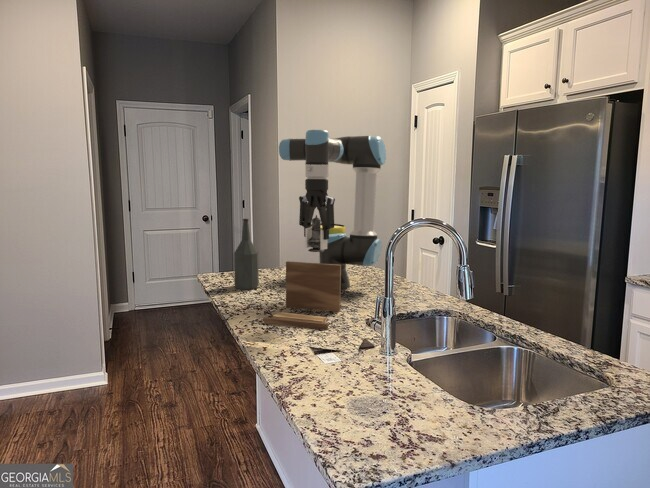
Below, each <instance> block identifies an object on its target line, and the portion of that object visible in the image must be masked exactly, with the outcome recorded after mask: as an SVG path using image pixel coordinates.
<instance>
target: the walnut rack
mask: <svg viewBox="0 0 650 488" xmlns="http://www.w3.org/2000/svg"><path fill="white" fill-rule="evenodd" d="M341 294H342V293H341V265H337V264H321V263H320V262H305V261H304V262H303V261H289V260H287V261H286V262H285V308H292V309H303V310H312V311H313V310H315V311H317V310H318V311H327V312H335V313H336V312H337V313H340V312H341V307H342V306H341V303H342V301H341V300H342V299H341V297H342V296H341ZM263 324H268V325H278V326H285V327H286V326H288V327H299V328H307V329H308V328H309V329H319V330H327V331H328V329H329V322H326V323H323V322H313V321H303V320H292V319H282V318H273V317H269V316H265V317H263Z"/></svg>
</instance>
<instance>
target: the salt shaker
mask: <svg viewBox="0 0 650 488" xmlns="http://www.w3.org/2000/svg"><path fill="white" fill-rule="evenodd" d="M311 224H312V228H311V230H312V236H311V238H310V239H308V240H307V241H308V243H309V246H310V247H309V249H308V252H311V253H319V252H323V251H324V250H320V238H321V219H320V217H318V215H317V214H315V216H314V218H312V222H311Z"/></svg>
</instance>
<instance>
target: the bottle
mask: <svg viewBox="0 0 650 488" xmlns="http://www.w3.org/2000/svg"><path fill="white" fill-rule="evenodd" d="M249 221H250V220H249V218H243V219H242V230H241V231H242V233H241V240H240V242H239V244H238V246H237V247H236V249H235V251H234V253H233V258H234V260H233V263H234V265H233V266H234V270H233V271H234V287H235V289H236V290H240V291H253V290H255V289H258V287H259V286H260V285H259V283H260V277H259V275H260V274H259V251H258V250H257V247H256V246H255V245H254V243H253V242H252V240H251V232H250V224H249Z"/></svg>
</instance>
